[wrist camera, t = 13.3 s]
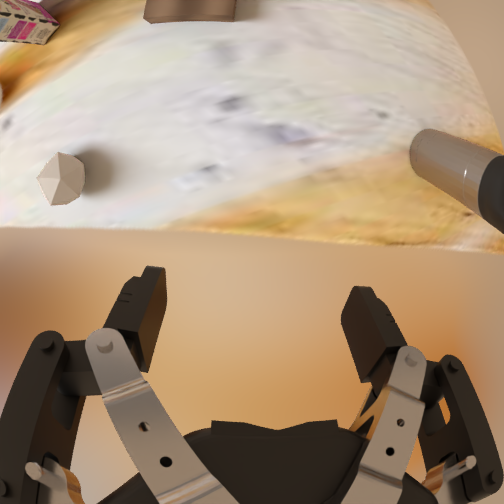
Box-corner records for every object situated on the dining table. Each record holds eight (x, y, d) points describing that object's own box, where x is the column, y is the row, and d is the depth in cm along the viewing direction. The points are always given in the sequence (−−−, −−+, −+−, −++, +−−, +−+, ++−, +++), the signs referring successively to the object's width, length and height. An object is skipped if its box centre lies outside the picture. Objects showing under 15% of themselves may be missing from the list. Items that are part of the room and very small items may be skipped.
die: (97, 149, 37) (47, 141, 28) (98, 200, 37) (44, 198, 28) (75, 165, 40) (30, 161, 32) (75, 211, 41) (29, 211, 32)
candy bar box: (62, 23, 23) (-2, 11, 9) (44, 45, 25) (-21, 44, 11) (39, 1, 18) (-19, -10, 4) (22, 22, 20) (-36, 18, 6)
